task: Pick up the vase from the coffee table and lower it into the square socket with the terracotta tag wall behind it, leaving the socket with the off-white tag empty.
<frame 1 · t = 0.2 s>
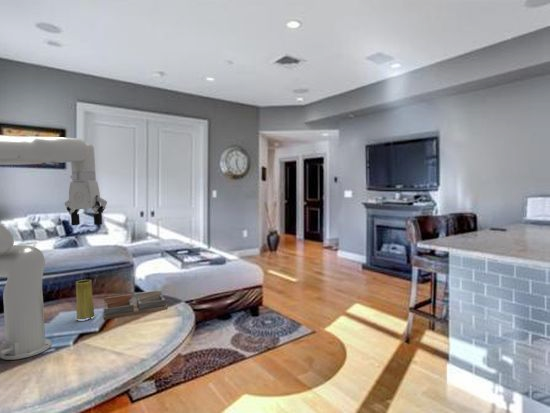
hand: (86, 224, 128), 36 cm above the table, tool pointing down, fingers open, 9 cm apart
socket board: (135, 310, 141), on the table
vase: (85, 319, 133), on the table
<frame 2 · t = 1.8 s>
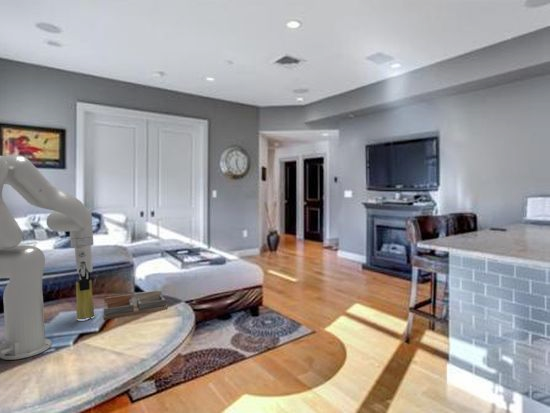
hand: (85, 286, 133), 12 cm above the table, tool pointing down, fingers open, 9 cm apart
nothing on the table moved.
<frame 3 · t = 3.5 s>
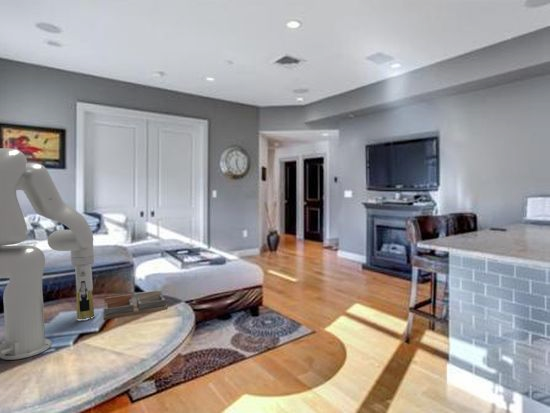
hand: (85, 308, 133), 4 cm above the table, tool pointing down, fingers closed on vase, 5 cm apart
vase: (85, 319, 133), on the table, touching gripper
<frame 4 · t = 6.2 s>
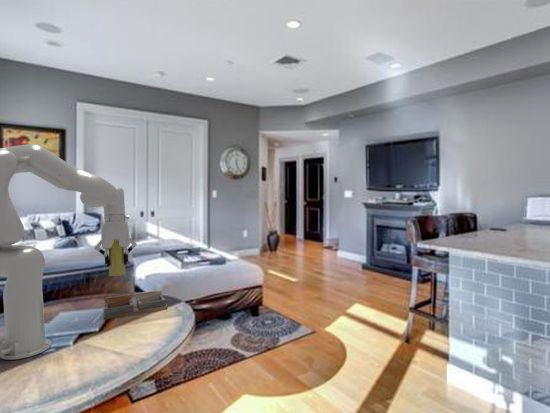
hand: (116, 264, 138), 19 cm above the table, tool pointing down, fingers closed on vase, 5 cm apart
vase: (117, 275, 138), point 15 cm above the table, touching gripper
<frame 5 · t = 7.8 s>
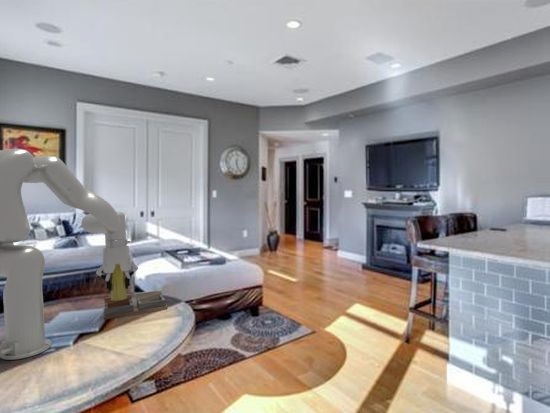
hand: (118, 288, 138), 9 cm above the table, tool pointing down, fingers closed on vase, 5 cm apart
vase: (119, 299, 139), point 5 cm above the table, touching gripper
when the fingers open (6 cm above the table, at t = 9.3 s): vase drops 1 cm, resting on socket board.
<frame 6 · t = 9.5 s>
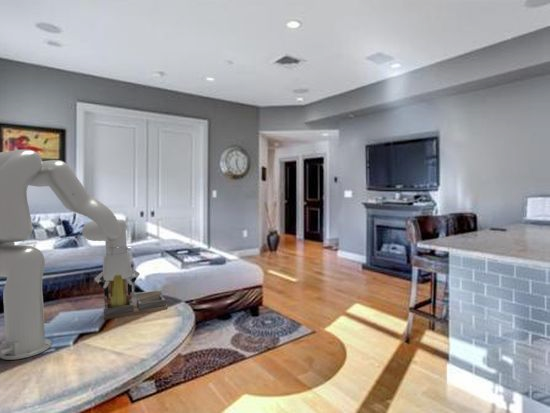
hand: (118, 295, 138), 7 cm above the table, tool pointing down, fingers open, 7 cm apart
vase: (119, 310, 138), point 1 cm above the table, touching socket board
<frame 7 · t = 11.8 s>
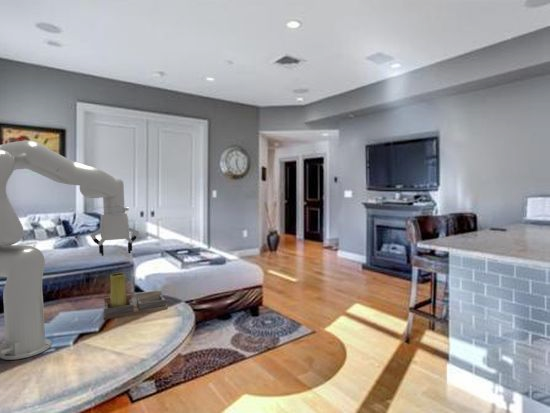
hand: (116, 254, 138), 23 cm above the table, tool pointing down, fingers open, 9 cm apart
nothing on the table moved.
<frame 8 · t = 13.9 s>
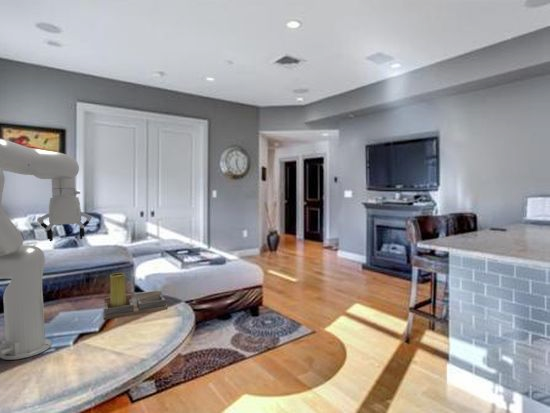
hand: (66, 239, 130), 30 cm above the table, tool pointing down, fingers open, 9 cm apart
nothing on the table moved.
at the end: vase 0.2 cm from the target spot on the socket board, point 0.8 cm above the socket board's base; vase tilted 0°; the gripper is holding nothing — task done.
